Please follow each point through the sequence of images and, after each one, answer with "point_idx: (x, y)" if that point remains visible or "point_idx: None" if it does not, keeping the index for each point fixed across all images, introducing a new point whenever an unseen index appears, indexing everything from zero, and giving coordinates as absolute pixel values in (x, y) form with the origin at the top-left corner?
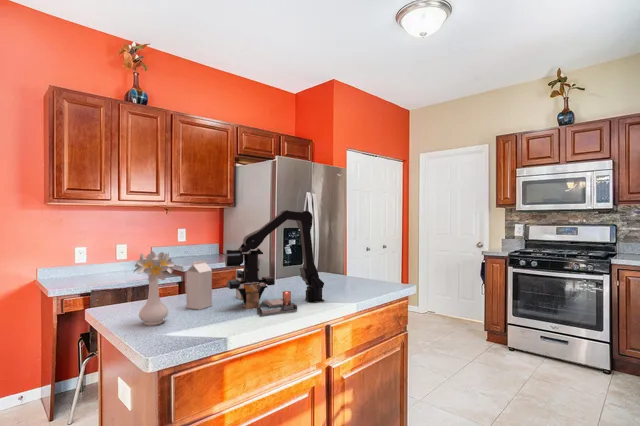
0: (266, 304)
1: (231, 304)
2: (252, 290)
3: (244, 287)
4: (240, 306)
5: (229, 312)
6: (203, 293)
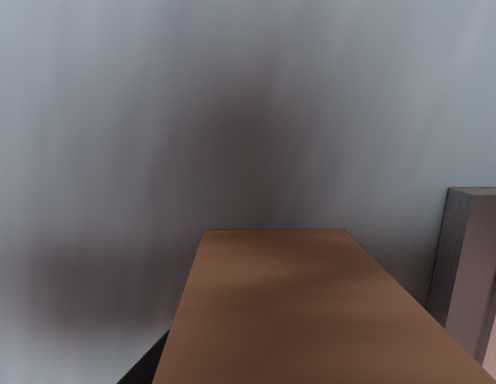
0: None
1: (73, 44)
2: None
3: None
4: (171, 206)
5: (29, 374)
6: None
